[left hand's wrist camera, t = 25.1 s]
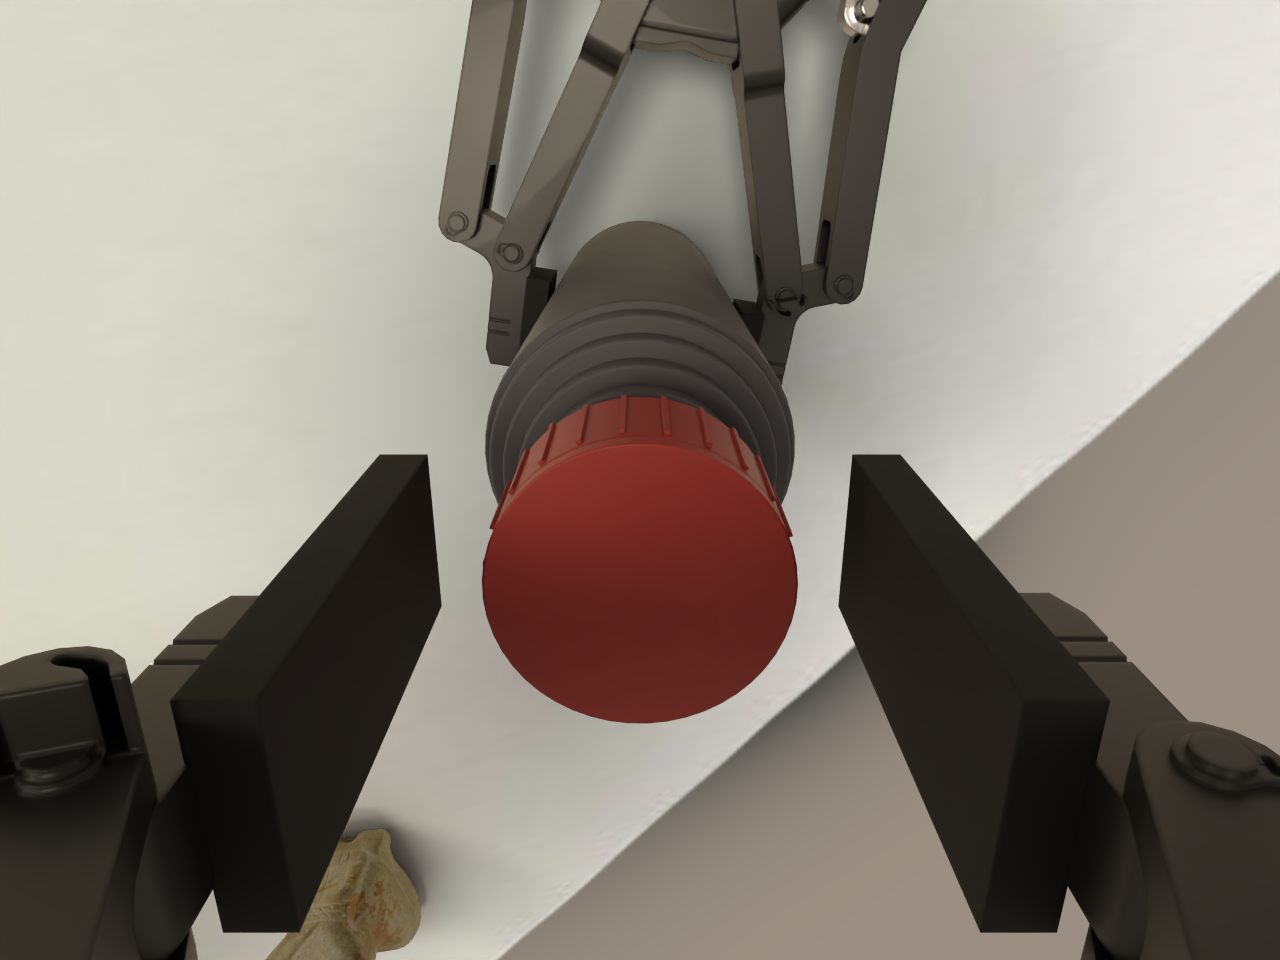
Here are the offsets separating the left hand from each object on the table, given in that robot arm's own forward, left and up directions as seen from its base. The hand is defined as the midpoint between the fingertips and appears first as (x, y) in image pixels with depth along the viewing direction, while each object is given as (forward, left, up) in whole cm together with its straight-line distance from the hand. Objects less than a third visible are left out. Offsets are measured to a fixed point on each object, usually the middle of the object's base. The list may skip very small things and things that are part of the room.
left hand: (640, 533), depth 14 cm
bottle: (0, 0, -23) cm, 23 cm away
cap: (0, 0, +2) cm, 2 cm away
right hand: (-4, -3, -17) cm, 17 cm away
